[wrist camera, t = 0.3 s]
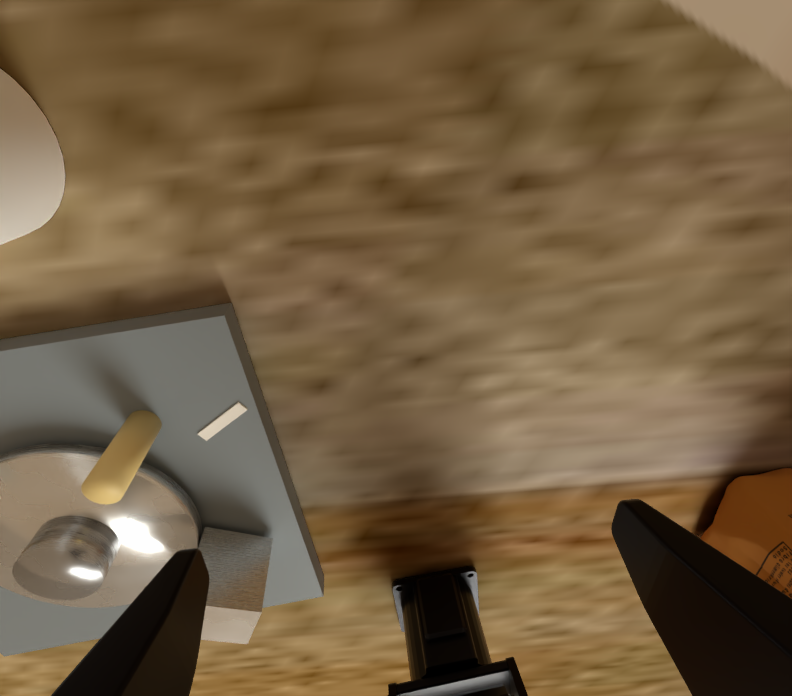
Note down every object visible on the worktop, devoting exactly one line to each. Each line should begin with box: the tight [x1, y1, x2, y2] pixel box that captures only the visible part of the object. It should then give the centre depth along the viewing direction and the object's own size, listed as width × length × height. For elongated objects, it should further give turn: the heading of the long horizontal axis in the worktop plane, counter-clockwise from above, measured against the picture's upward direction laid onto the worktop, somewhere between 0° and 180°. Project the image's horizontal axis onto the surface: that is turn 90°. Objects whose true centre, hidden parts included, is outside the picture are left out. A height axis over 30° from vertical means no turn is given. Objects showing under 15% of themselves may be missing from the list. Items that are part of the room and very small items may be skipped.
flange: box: [0, 443, 273, 644], centre depth 23 cm, size 12×15×4 cm
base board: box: [0, 303, 324, 656], centre depth 23 cm, size 22×22×6 cm
